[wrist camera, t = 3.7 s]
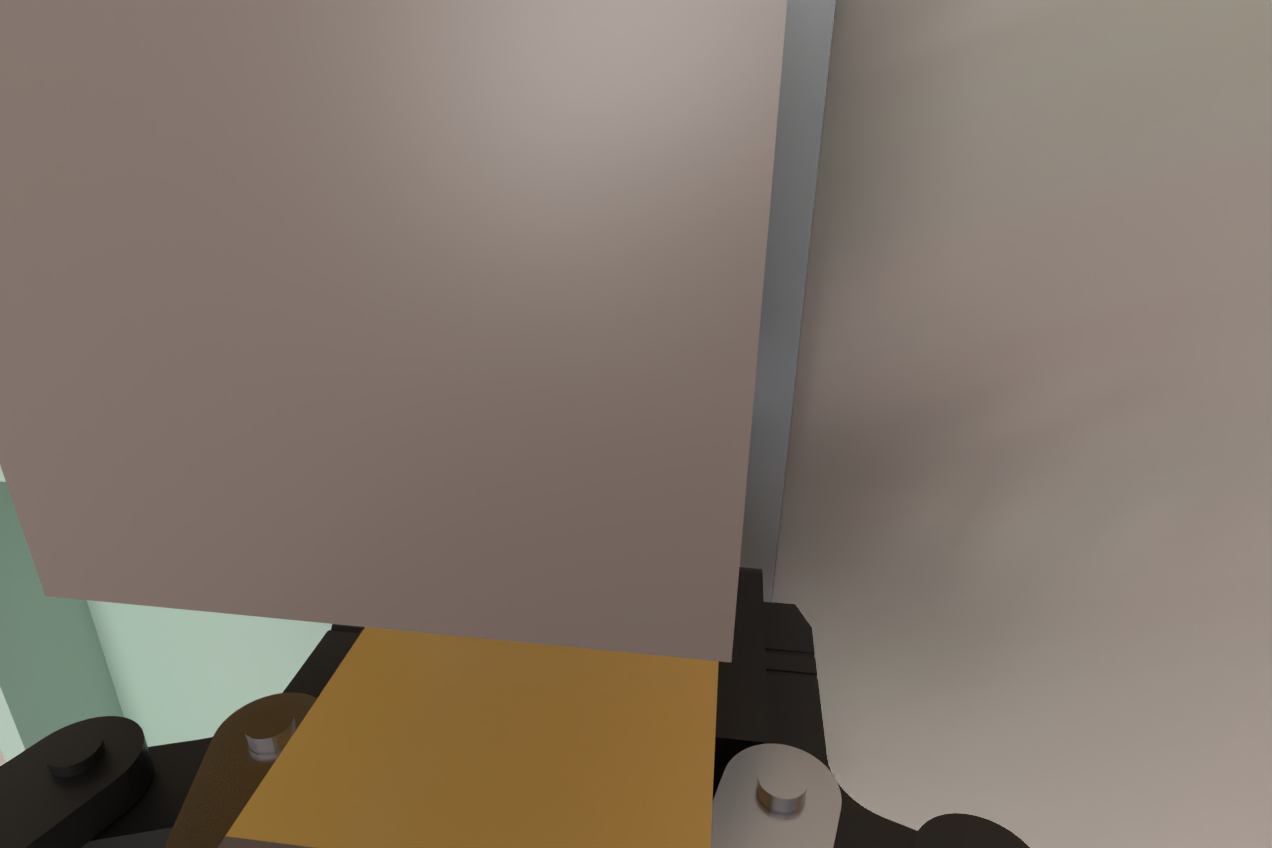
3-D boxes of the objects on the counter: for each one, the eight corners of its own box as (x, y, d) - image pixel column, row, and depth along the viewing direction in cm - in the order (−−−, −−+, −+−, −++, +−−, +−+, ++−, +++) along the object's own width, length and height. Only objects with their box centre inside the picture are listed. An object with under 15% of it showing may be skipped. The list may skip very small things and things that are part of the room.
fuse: (727, 449, 14) (702, 1006, 6) (713, 640, 15) (679, 1280, 7) (495, 432, 14) (161, 929, 6) (506, 620, 16) (258, 1205, 8)
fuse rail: (837, -132, 12) (1304, -1105, 2) (736, 860, 20) (729, 1598, 11) (437, -130, 12) (-737, -855, 3) (504, 832, 21) (296, 1505, 11)
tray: (426, 406, 16) (359, 479, 13) (467, 828, 21) (425, 945, 18) (16, 379, 17) (-127, 442, 14) (148, 789, 22) (60, 895, 19)
